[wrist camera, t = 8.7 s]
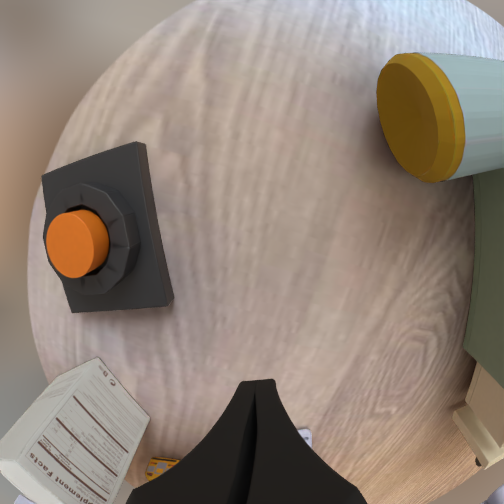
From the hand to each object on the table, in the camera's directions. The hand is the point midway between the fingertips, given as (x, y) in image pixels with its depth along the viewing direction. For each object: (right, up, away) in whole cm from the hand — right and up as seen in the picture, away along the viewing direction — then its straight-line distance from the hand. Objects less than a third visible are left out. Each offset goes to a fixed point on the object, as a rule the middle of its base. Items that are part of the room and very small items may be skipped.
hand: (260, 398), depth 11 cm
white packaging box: (-14, -7, +11) cm, 19 cm away
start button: (-10, +7, +4) cm, 13 cm away
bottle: (+7, +12, +1) cm, 14 cm away
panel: (-10, +7, +7) cm, 14 cm away
